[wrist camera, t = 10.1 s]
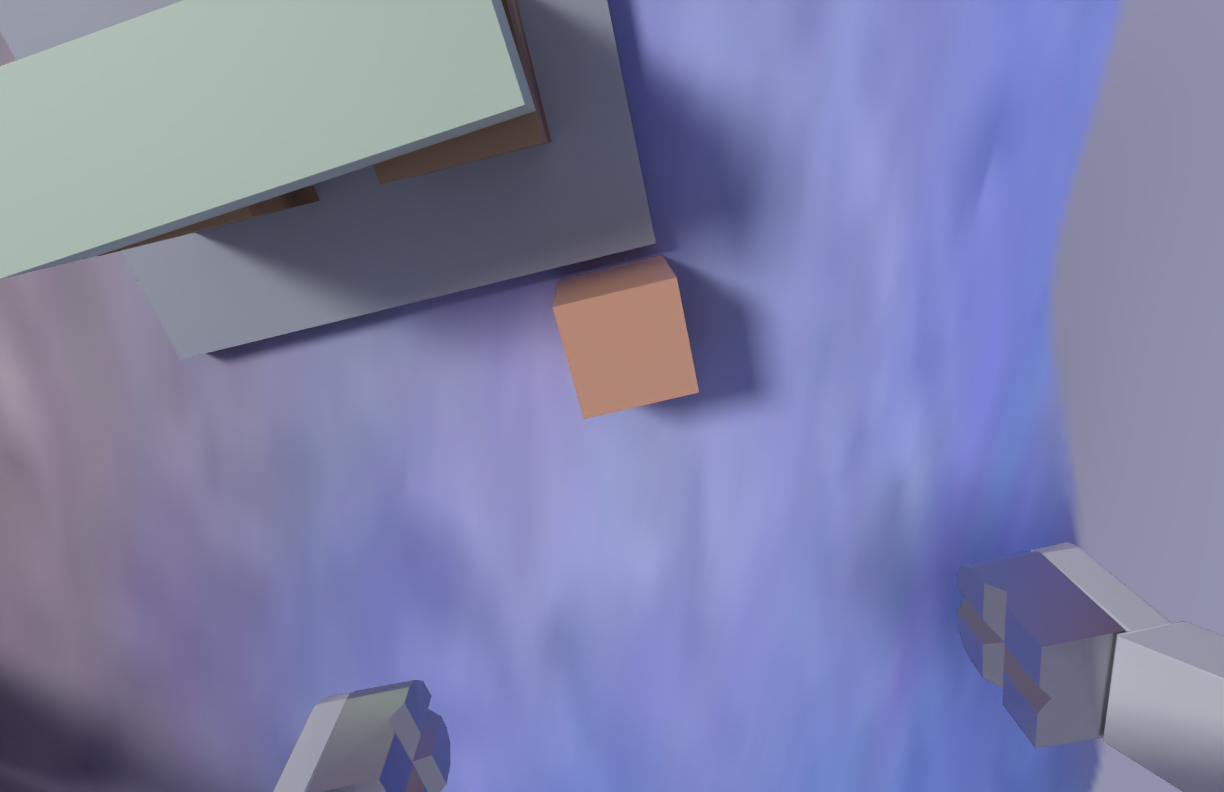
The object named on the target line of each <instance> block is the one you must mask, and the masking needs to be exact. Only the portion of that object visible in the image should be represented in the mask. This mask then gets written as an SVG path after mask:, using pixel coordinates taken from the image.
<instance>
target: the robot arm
mask: <svg viewBox="0 0 1224 792" xmlns="http://www.w3.org/2000/svg"><path fill="white" fill-rule="evenodd" d="M957 588H958V589H959V591H960V592H961V593H962V594H963V596H964V597H965V598H966V599H965V601H964V602H963V603H962V605H961V606H960V607H959V609H958V610H957V621H958V630H959V633H960V637H961V640H962V643H963V646H964V648H965V650H966V652H967V654H968V656H969V658H970V660H971V662H972V663H973V665H974V666H975V667H976V669H977V670H978V672H979V673H980V674H981V676H982V677H983V678H985V679H987V680H988V681H990V682H992V683H994V684H996V685H998V686H1000V687H1002V688H1003V706H1004V707H1005V708H1006V710H1007V711H1008V713H1009V714H1010V715H1011V717H1012V718H1013V719H1014V721H1015V722H1016V723H1017V725H1018V726H1019V727H1020V729H1021V730H1022V731H1023V733H1024V734H1025V735H1026V737H1027V738H1028V739H1029V741H1030V742H1031V743H1032V745H1033V746H1034V747H1035V749H1036V748H1042V747H1048V746H1055V745H1061V744H1067V743H1073V742H1079V741H1086V740H1092V739H1098V738H1103V742H1105V743H1106V744H1108V745H1110V746H1111V747H1113V748H1114V749H1116V750H1118V751H1119V752H1121V753H1122V754H1124V755H1125V756H1127V757H1129V758H1130V759H1132V760H1133V761H1135V762H1137V763H1138V764H1140V765H1141V766H1143V767H1145V768H1146V769H1148V770H1149V771H1151V772H1153V773H1154V774H1156V775H1157V776H1159V777H1160V778H1162V779H1164V780H1165V781H1167V782H1168V783H1170V784H1172V785H1173V786H1175V787H1176V788H1178V789H1179V790H1181V791H1183V792H1224V636H1223V635H1221V634H1218V633H1215V632H1212V631H1210V630H1207V629H1204V628H1201V627H1199V626H1196V625H1193V624H1190V623H1188V622H1185V621H1182V622H1176V623H1171V622H1170V621H1169V620H1167V619H1166V618H1165V617H1164V616H1162V615H1161V614H1160V613H1159V612H1157V611H1156V610H1155V609H1154V608H1153V607H1151V606H1150V605H1149V604H1148V603H1147V602H1145V601H1144V600H1143V599H1142V598H1141V597H1139V596H1138V595H1137V594H1136V593H1134V592H1133V591H1132V590H1131V589H1129V588H1128V587H1127V586H1126V585H1125V584H1123V583H1122V582H1121V581H1120V580H1119V579H1117V578H1116V577H1115V576H1114V575H1112V574H1111V573H1110V572H1109V571H1108V570H1106V569H1105V568H1104V567H1103V566H1102V565H1100V564H1099V563H1098V562H1097V561H1095V560H1094V559H1093V558H1092V557H1091V556H1089V555H1088V554H1087V553H1086V552H1084V551H1083V550H1082V549H1081V548H1080V547H1078V546H1077V545H1074V544H1071V543H1068V542H1065V543H1061V544H1056V545H1052V546H1047V547H1043V548H1038V549H1034V550H1031V551H1025V552H1021V553H1016V554H1011V555H1007V556H1002V557H998V558H993V559H989V560H984V561H980V562H975V563H970V564H966V565H961V566H960V568H959V570H958V572H957ZM430 699H431V694H430V693H429V691H428V689H427V687H426V685H425V684H424V682H423V681H420V680H413V681H407V682H402V683H396V684H391V685H385V686H380V687H374V688H369V689H363V690H358V691H354V692H351V693H345V694H339V695H334V696H328V697H324V698H323V699H322V700H320V701H319V702H318V703H317V704H316V705H315V706H314V708H313V710H312V712H311V714H310V716H309V719H308V721H307V723H306V725H305V727H304V729H303V731H302V733H301V735H300V737H299V739H298V741H297V743H296V746H295V748H294V750H293V752H292V754H291V756H290V758H289V760H288V762H287V764H286V766H285V768H284V770H283V773H282V775H281V777H280V779H279V781H278V783H277V785H276V787H275V789H274V791H273V792H441V790H442V789H443V788H444V787H445V785H446V784H447V779H448V774H449V769H450V740H449V735H448V731H447V727H446V725H445V723H444V721H443V719H442V717H441V716H440V715H438V714H436V713H435V712H433V711H431V710H429V709H428V707H429V703H430Z"/></svg>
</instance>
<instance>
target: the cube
mask: <svg viewBox="0 0 1224 792" xmlns="http://www.w3.org/2000/svg"><path fill="white" fill-rule="evenodd" d="M552 308H553V311H554V315H555V318H556V322H557V325H558V329H559V333H560V336H561V340H562V343H563V347H564V350H565V354H566V357H567V361H568V365H569V368H570V372H571V375H572V379H573V382H574V386H575V389H576V393H577V397H578V400H579V404H580V407H581V411H582V414H583V418H584V419H586V418H591V417H595V416H599V415H604V414H608V413H612V412H617V411H621V410H625V409H630V408H634V407H638V406H643V405H647V404H651V403H656V402H660V401H664V400H669V399H673V398H677V397H682V396H686V395H690V394H695V393H699V389H698V384H697V379H696V374H695V368H694V363H693V358H692V353H691V348H690V343H689V337H688V332H687V327H686V322H685V317H684V312H683V306H682V301H681V296H680V291H679V286H678V281H677V277H676V275H675V274H674V272H673V271H672V269H671V268H670V266H669V265H668V263H667V261H666V260H665V258H664V257H663V255H660V256H656V257H652V258H648V259H644V260H640V261H636V262H632V263H627V264H623V265H619V266H615V267H611V268H607V269H603V270H599V271H595V272H591V273H587V274H582V275H578V276H574V277H570V278H566V279H562V280H558V282H557V287H556V292H555V297H554V302H553V307H552Z"/></svg>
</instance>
